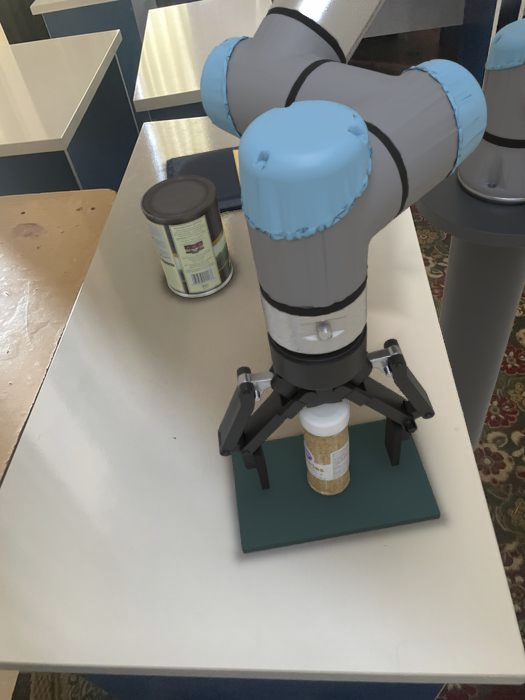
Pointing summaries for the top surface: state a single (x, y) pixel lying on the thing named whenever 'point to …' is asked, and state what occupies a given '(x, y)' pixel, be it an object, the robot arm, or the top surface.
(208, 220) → the coffee can
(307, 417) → the sprinkles bottle
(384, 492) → the dark green mat
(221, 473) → the top surface
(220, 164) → the dark blue book
